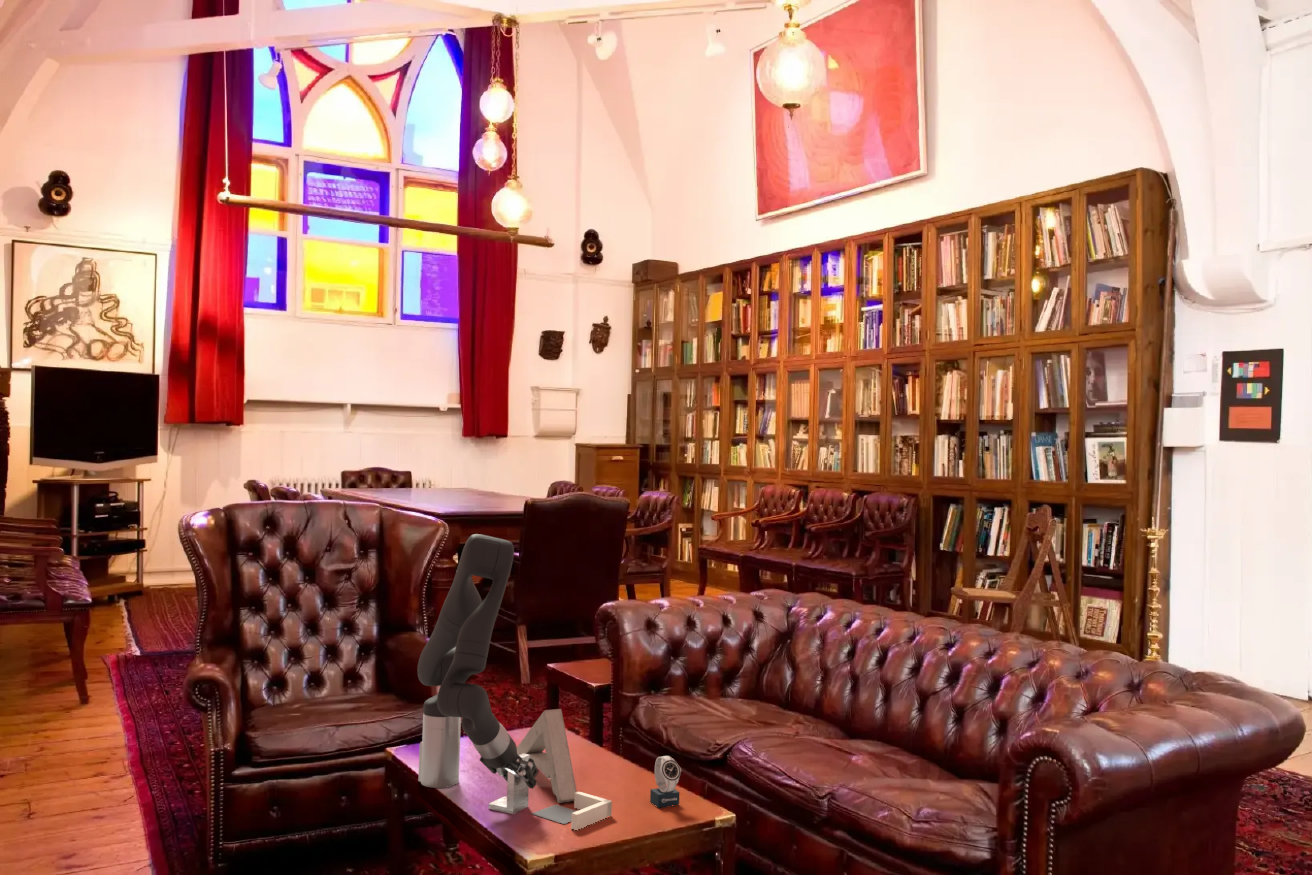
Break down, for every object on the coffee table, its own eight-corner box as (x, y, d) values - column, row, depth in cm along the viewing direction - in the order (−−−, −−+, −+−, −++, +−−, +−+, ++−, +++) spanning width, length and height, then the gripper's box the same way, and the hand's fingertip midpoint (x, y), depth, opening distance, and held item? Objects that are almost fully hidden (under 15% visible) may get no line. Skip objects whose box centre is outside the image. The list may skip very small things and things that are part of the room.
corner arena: (542, 819, 225) (543, 804, 225) (578, 806, 234) (578, 791, 234) (576, 830, 219) (576, 814, 219) (611, 816, 228) (611, 800, 228)
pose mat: (531, 814, 228) (531, 813, 228) (555, 805, 235) (555, 804, 235) (564, 824, 222) (564, 823, 222) (587, 815, 229) (587, 814, 229)
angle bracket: (488, 808, 231) (490, 756, 231) (504, 801, 236) (505, 750, 237) (512, 814, 228) (514, 761, 228) (528, 806, 233) (529, 754, 234)
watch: (661, 810, 233) (663, 763, 233) (647, 800, 240) (648, 753, 241) (683, 807, 235) (684, 760, 236) (667, 797, 243) (669, 751, 243)
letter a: (541, 836, 258) (578, 798, 237) (524, 839, 256) (560, 800, 235) (527, 752, 270) (561, 708, 249) (511, 754, 268) (544, 710, 247)
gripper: (527, 732, 222) (555, 773, 232) (475, 723, 228) (504, 763, 239) (512, 763, 217) (542, 803, 227) (459, 752, 223) (490, 792, 234)
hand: (522, 782), depth 233 cm, fingers open, 5 cm apart
